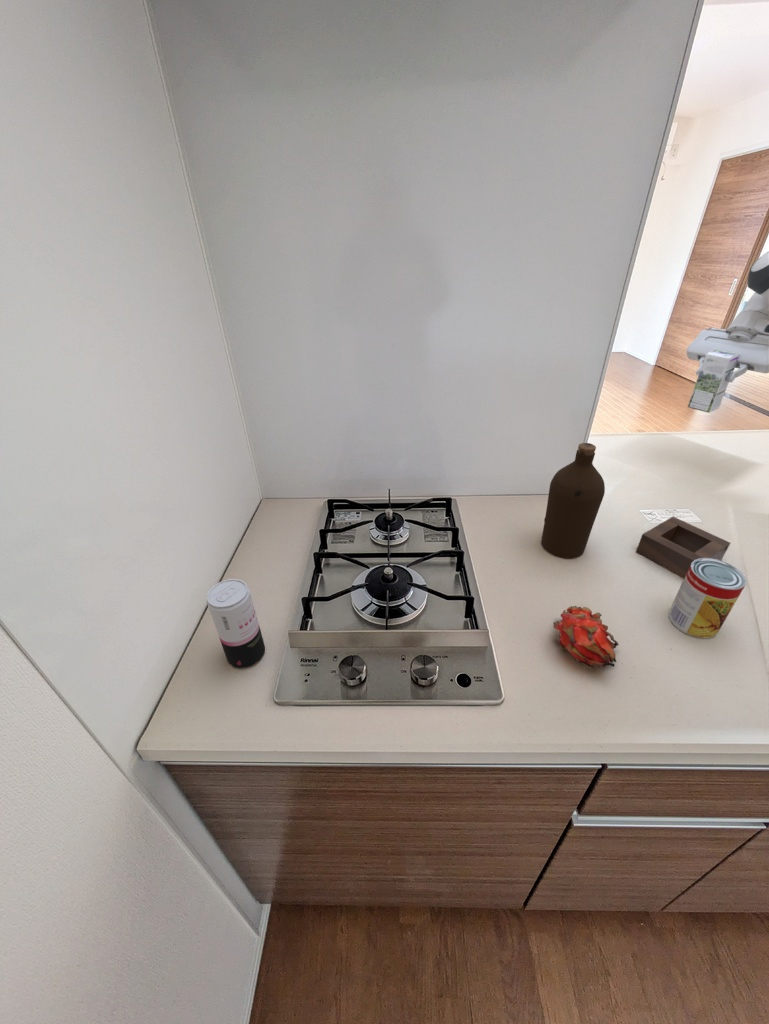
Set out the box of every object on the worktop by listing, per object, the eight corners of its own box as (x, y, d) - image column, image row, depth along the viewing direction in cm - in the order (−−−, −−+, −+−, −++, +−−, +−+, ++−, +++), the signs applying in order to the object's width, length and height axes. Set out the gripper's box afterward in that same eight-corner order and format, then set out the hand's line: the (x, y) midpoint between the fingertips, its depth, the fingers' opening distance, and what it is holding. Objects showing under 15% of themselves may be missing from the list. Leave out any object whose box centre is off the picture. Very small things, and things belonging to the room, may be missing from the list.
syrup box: (719, 408, 117) (741, 352, 109) (708, 413, 115) (730, 357, 107) (696, 403, 121) (716, 349, 113) (686, 407, 119) (705, 352, 111)
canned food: (728, 632, 78) (758, 582, 71) (693, 643, 76) (721, 593, 69) (691, 602, 84) (715, 553, 77) (658, 611, 82) (680, 563, 76)
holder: (665, 533, 102) (673, 516, 100) (721, 561, 94) (730, 542, 91) (635, 552, 97) (642, 534, 94) (691, 582, 89) (700, 563, 86)
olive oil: (597, 557, 96) (629, 454, 82) (551, 563, 95) (576, 460, 81) (571, 529, 105) (596, 432, 91) (530, 535, 103) (549, 437, 89)
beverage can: (219, 659, 76) (196, 597, 68) (247, 634, 80) (229, 573, 72) (246, 676, 73) (225, 613, 65) (273, 648, 78) (257, 586, 69)
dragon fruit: (558, 627, 82) (600, 685, 73) (533, 621, 77) (576, 683, 68) (593, 598, 78) (641, 656, 70) (569, 590, 73) (618, 651, 65)
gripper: (703, 319, 117) (671, 362, 118) (795, 330, 103) (757, 379, 104) (705, 334, 122) (674, 375, 123) (794, 347, 107) (758, 394, 108)
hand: (713, 377), depth 113 cm, fingers closed on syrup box, 6 cm apart
